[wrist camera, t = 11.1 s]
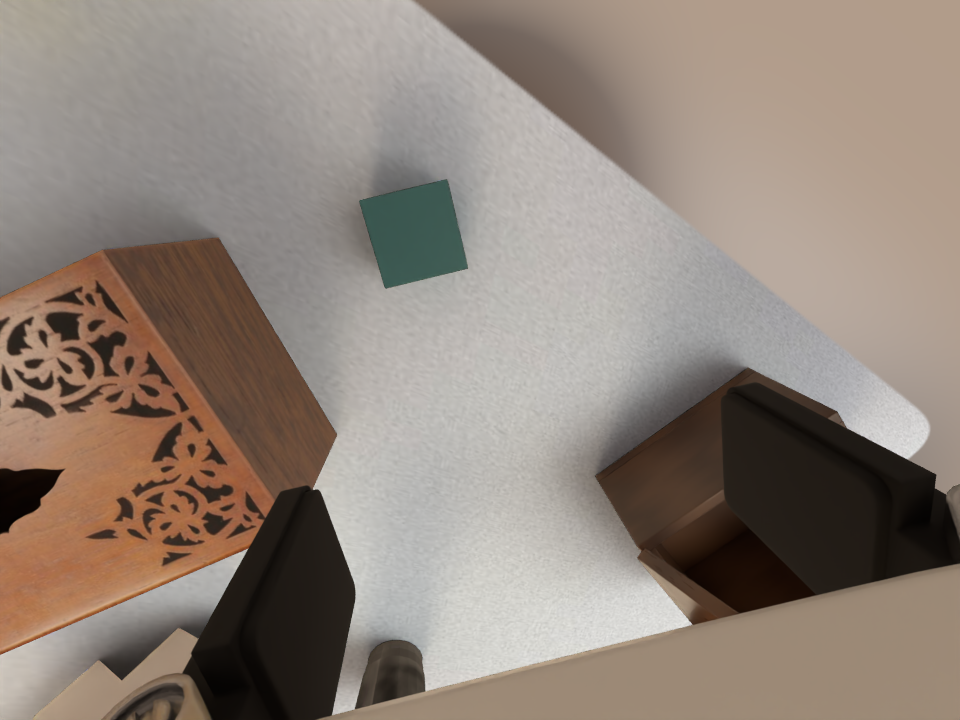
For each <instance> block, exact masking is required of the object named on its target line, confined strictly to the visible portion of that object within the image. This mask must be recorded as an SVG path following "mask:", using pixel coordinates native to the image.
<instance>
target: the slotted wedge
mask: <svg viewBox="0 0 960 720" xmlns="http://www.w3.org/2000/svg"><path fill="white" fill-rule="evenodd" d="M197 641H198V638H196V637H194V636H192V635H191V634H189V633H187V632H185V631H183V630H182V629H180V628H178V629H177V630H176V631H175V632H174V633H172V634H171V635H170V636H169V637H168V638H167V639H166V640H165V641H164V642H163V643H162V644H161V645H160V646H159V647H157V648H156V649H155V650H154V651H153V652H152V653H151V654H150V655H149V656H148V657H147V658H146V659H145V660H144V661H142V662H141V663H140V664H139V665H138V666H137V667H136V668H135V669H134V670H133V671H132V672H131V673H130V674H128V675H127V676H126V677H125V678H124V679H123V680H120V679H119V678H118V677H117V676H116V675H115V674H114V673H113V672H112V671H110V670H109V669H108V668H107V667H106V666H105V665H104V664H103V663H102V662H100V661H99V660H98V661H97V662H96V663H95V664H93V665H92V666H91V667H90V668H89V669H88V670H87V671H85V672H84V673H83V674H82V675H81V676H80V677H79V678H77V679H76V680H75V681H74V682H73V683H72V684H70V685H69V686H68V687H67V688H66V689H65V690H64V691H62V692H61V693H60V694H59V695H58V696H57V697H56V698H54V699H53V700H52V701H51V702H50V703H49V704H47V705H46V706H45V707H44V708H43V709H42V710H41V711H39V712H38V713H37V714H36V715H35V716H34V718H33V720H101V719H102V718H103V717H104V716H105V715H106V714H107V713H108V712H109V711H110V710H111V709H112V708H113V707H114V706H115V705H116V704H117V703H119V702H120V701H121V700H122V699H124V698H125V697H126V696H127V695H129V694H130V693H131V692H133V691H134V690H136V689H137V688H139V687H141V686H142V685H144V684H146V683H147V682H149V681H151V680H154V679H156V678H159V677H161V676H164V675H168V674H174V673H181V674H182V672H183V670H184V669H185V667H186V665H187V663H188V661H189V660H190V658H191V656H192V655H191V652H192V650H193V648H194V646H195V644H196V642H197Z"/></svg>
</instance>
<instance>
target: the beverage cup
mask: <svg viewBox="0 0 960 720" xmlns="http://www.w3.org/2000/svg"><path fill="white" fill-rule="evenodd" d="M421 692H425V678H424V672H423V664H422V655H421V652H420V650H419V649H418V648H417V647H416V646H415V645H413V644H411V643H409V642H406V641H401V640H392V641H388V642H384V643H382V644H380V645H378V646H377V647H376V648H375V649H374V650H373V651H372V652H371V654H370V656H369V658H368V664H367V667H366V670H365V673H364V675H363V679H362V683H361V687H360V691H359V695H358V699H357V703H356V707H355V709H359V708H363V707H367V706H370V705H374V704H378V703H382V702H386V701H390V700H394V699H398V698H402V697H405V696H409V695H413V694H417V693H421Z"/></svg>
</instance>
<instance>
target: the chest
mask: <svg viewBox="0 0 960 720" xmlns="http://www.w3.org/2000/svg"><path fill="white" fill-rule="evenodd" d="M753 382H757V383H760V384H762V385H764V386H766V387H768V388H770V389H772V390H774V391H775V392H777V393H779V394H781V395H783V396H785V397H787V398H789V399H791V400H793V401H795V402H797V403H799V404H801V405H803V406H805V407H806V408H808V409H810V410H812V411H814V412H816V413H818V414H820V415H822V416H824V417H826V418H828V419H830V420H832V421H834V422H835V423H837V424H839V425H841V426H843V427H845V428H846V426H845V424H844V422H843V421H842V419H841V417H840V416H839V414H838V412H837V411H835V410H833V409H831V408H829V407H827V406H825V405H823V404H821V403H819V402H817V401H815V400H813V399H811V398H809V397H807V396H805V395H802V394H800V393H798V392H796V391H794V390H792V389H790V388H788V387H786V386H784V385H782V384H780V383H778V382H776V381H774V380H772V379H770V378H768V377H766V376H764V375H762V374H760V373H758V372H756V371H754V370H752V369H750V368H747V369H746V370H744V371H743V372H742V373H740V374H739V375H737V376H736V377H735V378H733V379H732V380H730V381H729V382H727V383H726V384H725V385H723V386H722V387H720V388H719V389H718V390H716V391H715V392H713V393H712V394H710V395H709V396H708V397H706V398H705V399H703V400H702V401H701V402H699V403H698V404H696V405H695V406H694V407H692V408H691V409H689V410H688V411H686V412H685V413H684V414H682V415H681V416H679V417H678V418H677V419H675V420H674V421H672V422H671V423H670V424H668V425H667V426H665V427H664V428H662V429H661V430H660V431H658V432H657V433H655V434H654V435H653V436H651V437H650V438H648V439H647V440H645V441H644V442H643V443H641V444H640V445H638V446H637V447H636V448H634V449H633V450H631V451H630V452H629V453H627V454H626V455H624V456H623V457H621V458H620V459H619V460H617V461H616V462H614V463H613V464H612V465H610V466H609V467H607V468H606V469H604V470H603V471H602V472H600V473H599V474H597V475H596V476H595V477H596V479H597V481H598V482H599V484H600V486H601V487H602V489H603V491H604V492H605V494H606V496H607V497H608V499H609V501H610V502H611V504H612V506H613V507H614V509H615V511H616V512H617V514H618V516H619V517H620V519H621V521H622V522H623V524H624V526H625V527H626V529H627V531H628V532H629V534H630V536H631V537H632V539H633V541H634V542H635V544H636V546H637V547H638V548H639V550H640V551H641V552H642V551H643V550H644V549H645V548H646V549H647V550H649V551H650V552H652V553H653V554H655V555H656V556H658V557H659V558H660V559H662V560H663V561H665V562H666V563H668V564H669V565H671V566H672V567H673V568H675V569H676V570H678V571H679V572H681V573H682V574H684V575H685V576H686V577H688V578H689V579H691V580H692V581H694V582H695V583H697V584H698V585H699V586H701V587H702V588H704V589H705V590H707V591H708V592H710V593H711V594H712V595H714V596H715V597H717V598H718V599H720V600H721V601H722V602H724V603H725V604H727V605H728V606H730V607H731V608H733V609H734V610H735V611H737V612H738V613H740V614H741V613H745V612H749V611H753V610H758V609H762V608H766V607H770V606H774V605H779V604H783V603H787V602H791V601H795V600H800V599H804V598H808V597H812V596H816V594H815V593H814V592H813V591H812V590H811V589H810V588H809V587H808V586H807V585H806V584H805V583H804V582H803V581H802V580H801V579H800V578H799V577H798V576H797V575H796V574H795V573H794V572H793V571H792V570H791V569H790V568H789V567H788V566H787V565H786V564H785V563H784V562H783V561H782V560H781V559H780V558H779V557H778V556H777V555H776V554H775V553H774V552H773V551H772V550H771V549H770V548H769V547H768V546H767V545H766V544H765V543H764V542H763V541H762V540H761V539H760V538H759V537H758V536H757V535H756V534H755V533H754V532H753V531H752V530H751V529H750V528H749V527H748V526H747V525H746V524H745V523H744V522H743V521H741V520H740V519H739V518H738V517H737V516H736V515H735V514H734V513H733V512H732V510H731V509H730V508H729V506H728V505H727V502H726V500H725V496H724V479H723V453H722V427H721V398H722V397H723V396H724V395H726V393H727V390H728V389H729V388H731V387H735V386H740V385H744V384H748V383H753Z"/></svg>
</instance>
